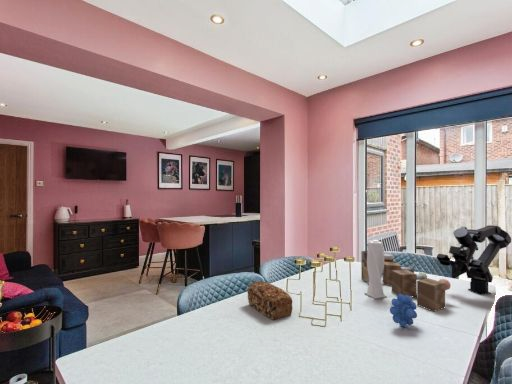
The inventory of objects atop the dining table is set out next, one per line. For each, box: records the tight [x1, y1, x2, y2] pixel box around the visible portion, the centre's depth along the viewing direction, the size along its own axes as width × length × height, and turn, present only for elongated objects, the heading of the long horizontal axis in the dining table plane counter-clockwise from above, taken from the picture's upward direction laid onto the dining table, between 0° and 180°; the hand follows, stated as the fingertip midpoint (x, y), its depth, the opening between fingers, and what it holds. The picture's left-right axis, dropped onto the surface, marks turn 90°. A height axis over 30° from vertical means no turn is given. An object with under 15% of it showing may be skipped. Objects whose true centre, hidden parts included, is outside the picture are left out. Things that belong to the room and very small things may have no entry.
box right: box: [416, 277, 446, 312], centre depth 118 cm, size 8×7×10 cm
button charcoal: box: [401, 265, 415, 273], centre depth 146 cm, size 8×5×5 cm, turn 71°
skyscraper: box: [364, 237, 388, 300], centre depth 129 cm, size 8×8×28 cm
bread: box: [246, 280, 293, 321], centre depth 114 cm, size 19×11×10 cm, turn 32°
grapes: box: [389, 294, 418, 328], centre depth 98 cm, size 12×7×12 cm, turn 107°
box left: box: [382, 261, 402, 286], centre depth 148 cm, size 8×7×10 cm
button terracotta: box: [438, 278, 451, 291], centre depth 120 cm, size 8×5×5 cm, turn 117°
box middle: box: [391, 270, 418, 298], centre depth 132 cm, size 8×7×10 cm
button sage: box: [417, 271, 428, 281], centre depth 132 cm, size 8×5×5 cm, turn 95°
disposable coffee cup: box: [382, 252, 395, 276], centre depth 165 cm, size 10×10×12 cm
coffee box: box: [360, 250, 370, 284], centre depth 151 cm, size 9×6×16 cm
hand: (452, 277), depth 125 cm, fingers closed
